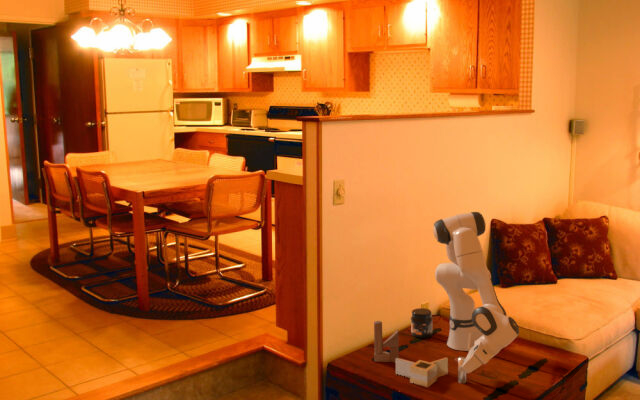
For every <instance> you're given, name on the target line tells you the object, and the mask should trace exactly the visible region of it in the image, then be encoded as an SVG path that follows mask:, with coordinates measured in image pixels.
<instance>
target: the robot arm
mask: <svg viewBox="0 0 640 400" xmlns="http://www.w3.org/2000/svg"><path fill="white" fill-rule="evenodd" d="M486 227H487V223H486V220H485V217H484V216H483V214H482V213H481V212H478V211H471V212H466V213H459V214H455V215H452V216H449V217H446V218H441V219H438V220H436V221H435V222H434V223H433V228H432V229H433V230H432V232H433V236H434V238H435V239H436V241H437V242H438V243H439V244H443V245H445V250H446V256H447V258H448V260H449V261H450V262H443V263H439V264H438V265H437V267H436V268H435V271H434V278H435V281H436V282H437V284H439V286H441V287H442V288H443V289H444V291H445V292H446V295H447V296H448V300H449V308H450V309H449V310H450V315H449V319H448V320H449V323H448V324H449V334H448V338H447V341H446V345H447V346H448V348H450V349H453V350H456V351H461V352H462V351H464V352H468V353H467V355H466V357H465V358H466V359H465V361H464V363H463V365H461V366H460V367H459V368H458V367H457V371H458V370H459V371H460V372H462V371H463V370H464V371H465V372H466V374H470V373H473V371H475V370H476V369H478V368H479V367H481V366H482V365H486V364H487V363H489V361H490V360H491V359H493V357H495V356H496V355H498V353H500V351H501V350H502V349H503V348H506V347H507V346H509V345H510V344H511V343H512V342H513V341H515V339H517V337H518V335H519V334H520V329H519V325H518V324H517V322H516V320H515V319H514V318H513V317H511V316H507V312H506V309H505V308H504V306H502V304H501V303H500V301H499V298H498V296H497V294H496V291H495V288H494V284H493V281H492V274H491V271H490V270H489V269H488V266H487V262H486V259H485V256H484V252H483V248H482V243H481V242H480V239H479V237H480V236H482V235H483V234H485V232H486ZM464 289H469V290H478V294H479V296H480V300H481V302H482V303H481V304H482V306H478V307H475V306H476V305H475V304H476V302H475V300H474V298H473V297H472V296H471V295H469V294H468V293H466V292H465V290H464Z"/></svg>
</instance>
